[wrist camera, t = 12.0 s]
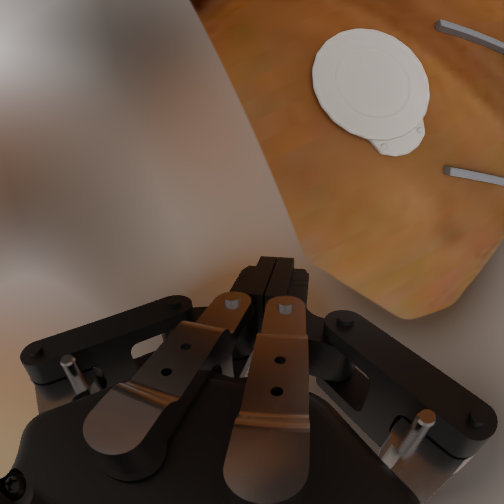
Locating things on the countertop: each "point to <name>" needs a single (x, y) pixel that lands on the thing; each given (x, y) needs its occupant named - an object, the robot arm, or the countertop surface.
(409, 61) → the lid
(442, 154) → the countertop surface
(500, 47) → the lid holder
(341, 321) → the robot arm
